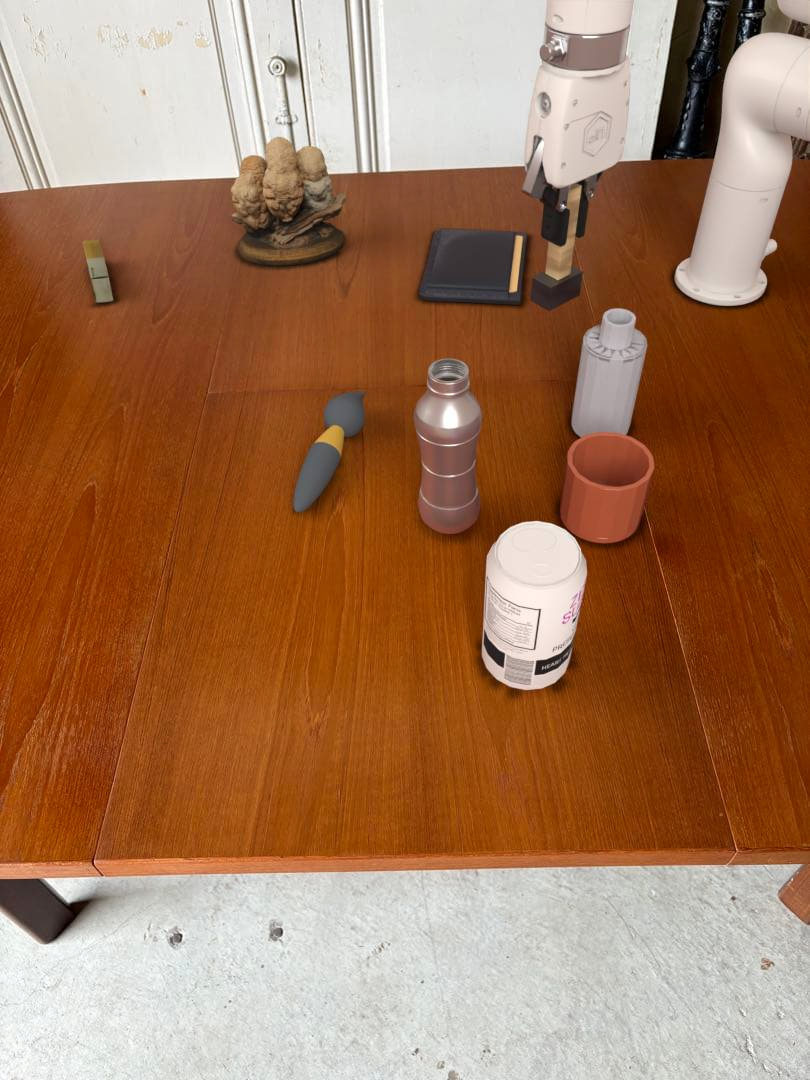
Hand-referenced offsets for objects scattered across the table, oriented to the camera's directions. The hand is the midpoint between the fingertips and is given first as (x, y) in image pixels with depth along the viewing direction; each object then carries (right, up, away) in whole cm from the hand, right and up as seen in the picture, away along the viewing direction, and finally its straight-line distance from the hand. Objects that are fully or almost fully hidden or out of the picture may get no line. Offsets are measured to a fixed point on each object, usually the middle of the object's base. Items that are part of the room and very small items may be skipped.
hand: (562, 235), depth 87 cm
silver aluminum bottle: (-12, -31, +2) cm, 33 cm away
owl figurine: (-34, +14, +42) cm, 56 cm away
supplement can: (-6, -44, -10) cm, 45 cm away
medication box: (-63, +6, +37) cm, 74 cm away
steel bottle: (+7, -19, +11) cm, 23 cm away
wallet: (-6, +9, +36) cm, 37 cm away
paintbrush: (-25, -23, +9) cm, 36 cm away
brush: (0, -5, +6) cm, 8 cm away
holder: (+4, -30, +1) cm, 30 cm away
